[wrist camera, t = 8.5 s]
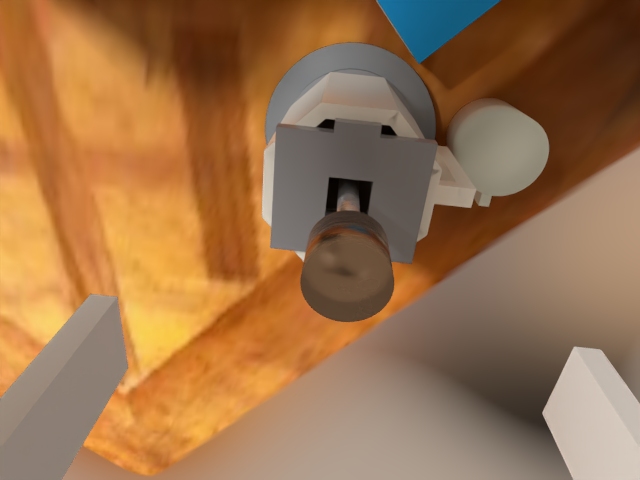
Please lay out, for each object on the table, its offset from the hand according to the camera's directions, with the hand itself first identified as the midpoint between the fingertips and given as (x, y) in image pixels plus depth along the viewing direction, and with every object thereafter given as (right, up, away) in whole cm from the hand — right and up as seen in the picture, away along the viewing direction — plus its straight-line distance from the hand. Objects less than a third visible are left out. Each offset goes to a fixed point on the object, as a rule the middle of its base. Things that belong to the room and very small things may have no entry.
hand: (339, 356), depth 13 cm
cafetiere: (+3, +12, +24) cm, 27 cm away
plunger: (+1, +9, +18) cm, 20 cm away
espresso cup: (+13, +12, +24) cm, 30 cm away
